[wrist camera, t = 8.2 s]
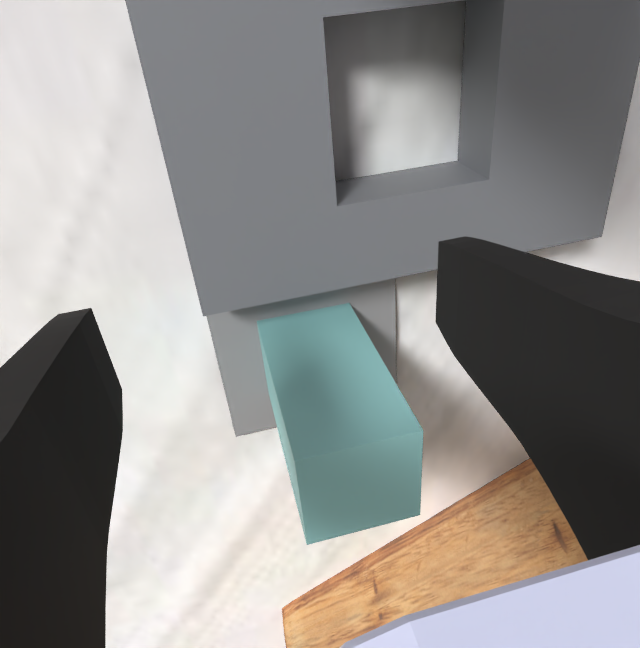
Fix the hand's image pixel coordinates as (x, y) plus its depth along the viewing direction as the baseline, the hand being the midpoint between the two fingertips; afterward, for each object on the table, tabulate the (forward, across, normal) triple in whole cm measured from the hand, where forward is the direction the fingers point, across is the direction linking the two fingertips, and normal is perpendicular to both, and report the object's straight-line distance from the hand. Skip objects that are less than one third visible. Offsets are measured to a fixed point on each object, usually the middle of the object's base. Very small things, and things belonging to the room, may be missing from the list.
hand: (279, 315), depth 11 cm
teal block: (+10, -2, +8) cm, 13 cm away
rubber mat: (+10, -2, +8) cm, 13 cm away
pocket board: (+10, -6, -2) cm, 12 cm away
